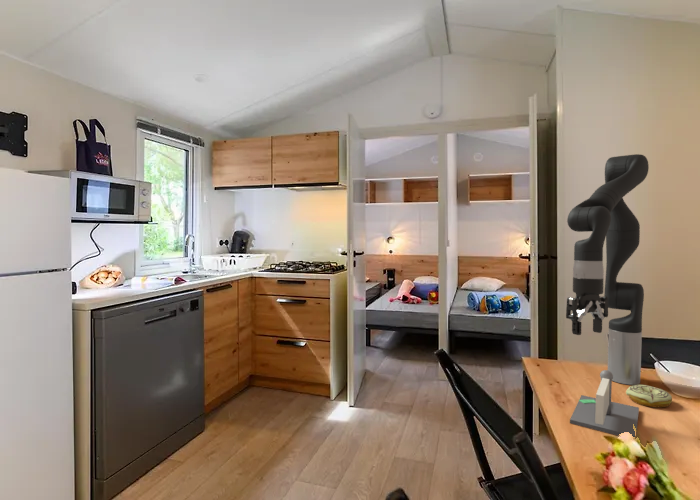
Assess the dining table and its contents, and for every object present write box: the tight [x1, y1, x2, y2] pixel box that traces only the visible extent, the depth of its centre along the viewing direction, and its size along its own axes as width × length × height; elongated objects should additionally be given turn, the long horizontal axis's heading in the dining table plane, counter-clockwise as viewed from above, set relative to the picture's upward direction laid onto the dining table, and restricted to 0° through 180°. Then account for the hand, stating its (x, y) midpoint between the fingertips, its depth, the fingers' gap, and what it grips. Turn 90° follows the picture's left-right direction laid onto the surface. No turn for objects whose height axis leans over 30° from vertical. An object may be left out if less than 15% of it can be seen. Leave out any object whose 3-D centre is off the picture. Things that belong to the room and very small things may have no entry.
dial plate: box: [569, 394, 640, 437], centre depth 107 cm, size 20×14×1 cm
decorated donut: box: [625, 384, 673, 409], centre depth 117 cm, size 10×11×4 cm
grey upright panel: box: [595, 369, 613, 425], centre depth 104 cm, size 24×3×12 cm, turn 142°
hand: (587, 333), depth 113 cm, fingers open, 8 cm apart
